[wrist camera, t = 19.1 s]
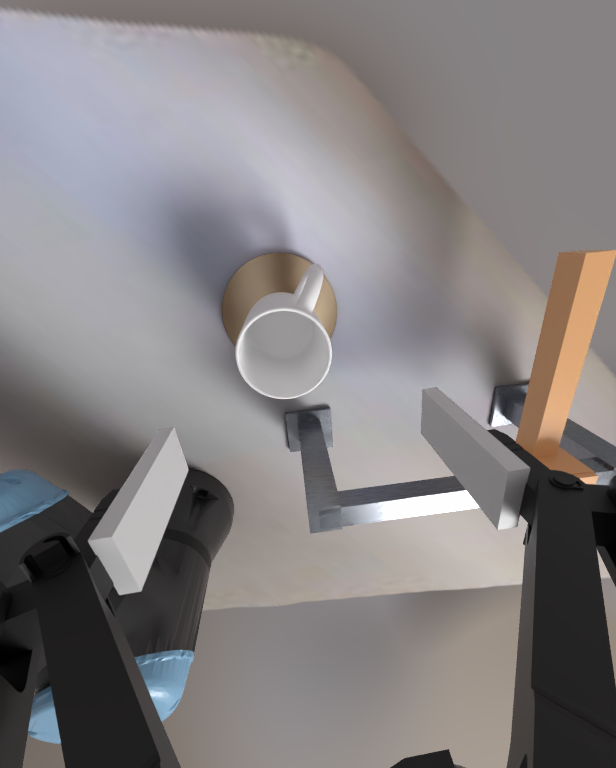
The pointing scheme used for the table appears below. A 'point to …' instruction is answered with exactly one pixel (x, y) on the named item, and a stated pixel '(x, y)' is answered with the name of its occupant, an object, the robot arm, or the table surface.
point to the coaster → (271, 290)
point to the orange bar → (563, 356)
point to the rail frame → (417, 497)
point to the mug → (285, 341)
